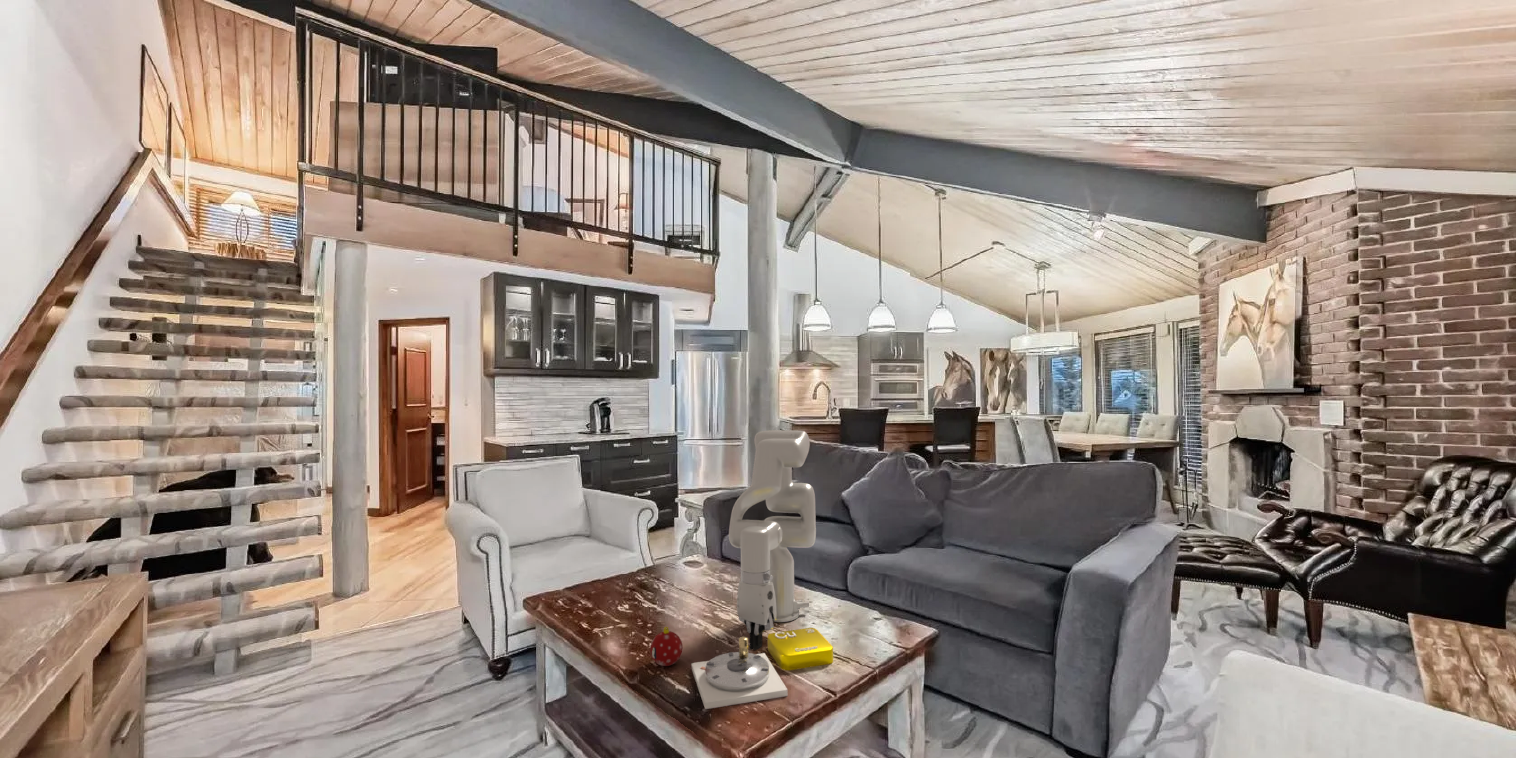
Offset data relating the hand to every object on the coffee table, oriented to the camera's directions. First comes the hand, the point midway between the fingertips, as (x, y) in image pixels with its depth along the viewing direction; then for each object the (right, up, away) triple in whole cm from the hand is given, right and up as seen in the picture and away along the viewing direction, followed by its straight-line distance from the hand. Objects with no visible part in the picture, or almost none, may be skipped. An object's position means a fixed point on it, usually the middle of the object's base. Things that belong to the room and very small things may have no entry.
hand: (756, 647), depth 153 cm
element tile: (+12, -8, +11) cm, 18 cm away
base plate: (-5, -7, -3) cm, 9 cm away
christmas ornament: (-24, -8, +7) cm, 26 cm away
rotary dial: (-5, -5, -3) cm, 8 cm away
